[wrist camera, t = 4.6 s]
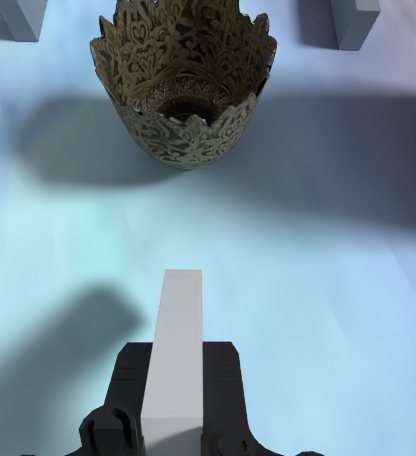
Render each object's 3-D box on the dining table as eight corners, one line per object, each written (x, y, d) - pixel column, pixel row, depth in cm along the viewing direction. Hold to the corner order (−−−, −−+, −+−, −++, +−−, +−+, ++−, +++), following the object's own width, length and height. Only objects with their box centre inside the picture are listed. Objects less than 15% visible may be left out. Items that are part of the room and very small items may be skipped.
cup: (104, 138, 21) (53, 22, 14) (197, 80, 23) (198, -50, 15) (176, 226, 19) (164, 150, 12) (272, 157, 21) (314, 52, 14)
